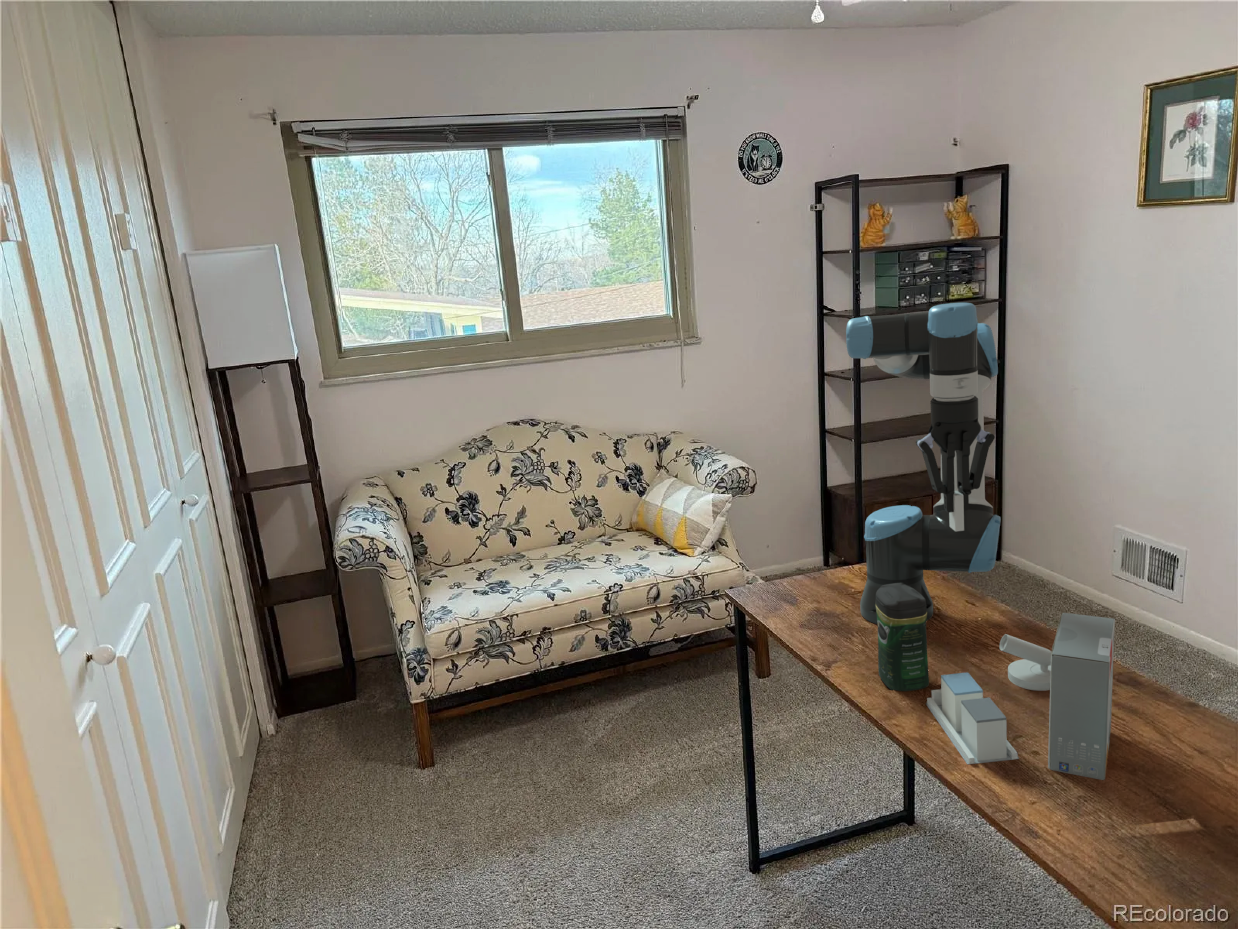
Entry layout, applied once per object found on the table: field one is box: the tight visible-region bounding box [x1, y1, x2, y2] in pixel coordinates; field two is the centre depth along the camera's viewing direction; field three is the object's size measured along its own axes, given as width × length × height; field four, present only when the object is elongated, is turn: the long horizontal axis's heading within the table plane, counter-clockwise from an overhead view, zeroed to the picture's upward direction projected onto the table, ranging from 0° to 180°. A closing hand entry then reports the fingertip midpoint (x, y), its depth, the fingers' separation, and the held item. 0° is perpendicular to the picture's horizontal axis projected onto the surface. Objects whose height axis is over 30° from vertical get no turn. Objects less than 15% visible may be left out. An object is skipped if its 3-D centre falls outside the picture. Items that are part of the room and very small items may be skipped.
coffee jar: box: [875, 583, 930, 692], centre depth 155 cm, size 10×8×19 cm
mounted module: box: [961, 697, 1008, 761], centre depth 132 cm, size 6×4×7 cm
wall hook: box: [999, 633, 1052, 692], centre depth 150 cm, size 9×10×10 cm
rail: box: [925, 688, 1020, 765], centre depth 138 cm, size 18×8×3 cm, turn 0°
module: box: [940, 671, 984, 732], centre depth 140 cm, size 6×4×7 cm
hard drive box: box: [1047, 612, 1116, 781], centre depth 129 cm, size 16×8×20 cm, turn 148°
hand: (956, 528), depth 148 cm, fingers closed
